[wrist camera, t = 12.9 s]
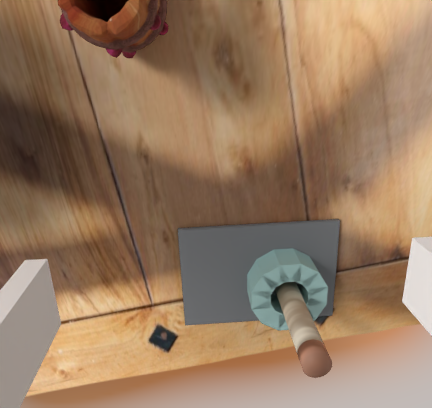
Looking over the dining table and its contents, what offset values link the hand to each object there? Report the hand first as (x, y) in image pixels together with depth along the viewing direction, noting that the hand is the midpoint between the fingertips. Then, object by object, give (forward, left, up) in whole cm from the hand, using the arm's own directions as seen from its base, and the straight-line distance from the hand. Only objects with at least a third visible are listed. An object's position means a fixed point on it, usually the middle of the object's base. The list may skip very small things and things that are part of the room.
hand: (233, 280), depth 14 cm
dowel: (+9, -20, -31) cm, 38 cm away
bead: (+9, -20, -31) cm, 38 cm away
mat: (+6, -19, -32) cm, 37 cm away
